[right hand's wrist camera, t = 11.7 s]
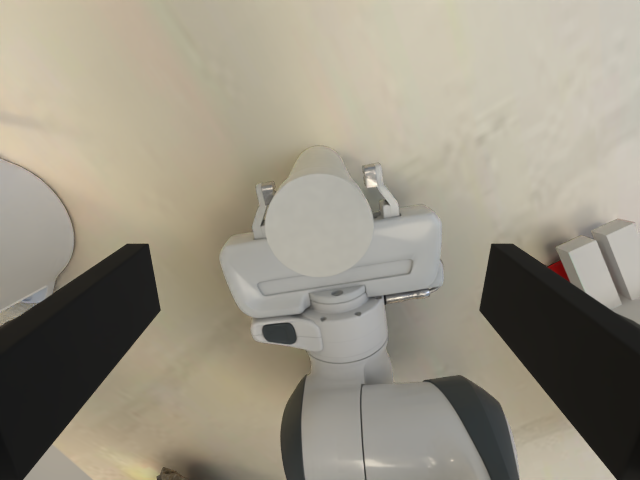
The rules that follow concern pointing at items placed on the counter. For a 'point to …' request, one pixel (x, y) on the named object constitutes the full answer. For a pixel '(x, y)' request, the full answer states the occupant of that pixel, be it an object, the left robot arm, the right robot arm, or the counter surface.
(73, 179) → the counter surface
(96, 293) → the right robot arm
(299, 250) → the white cylinder
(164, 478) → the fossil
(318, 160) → the jar
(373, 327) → the left robot arm
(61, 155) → the counter surface
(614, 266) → the toy
